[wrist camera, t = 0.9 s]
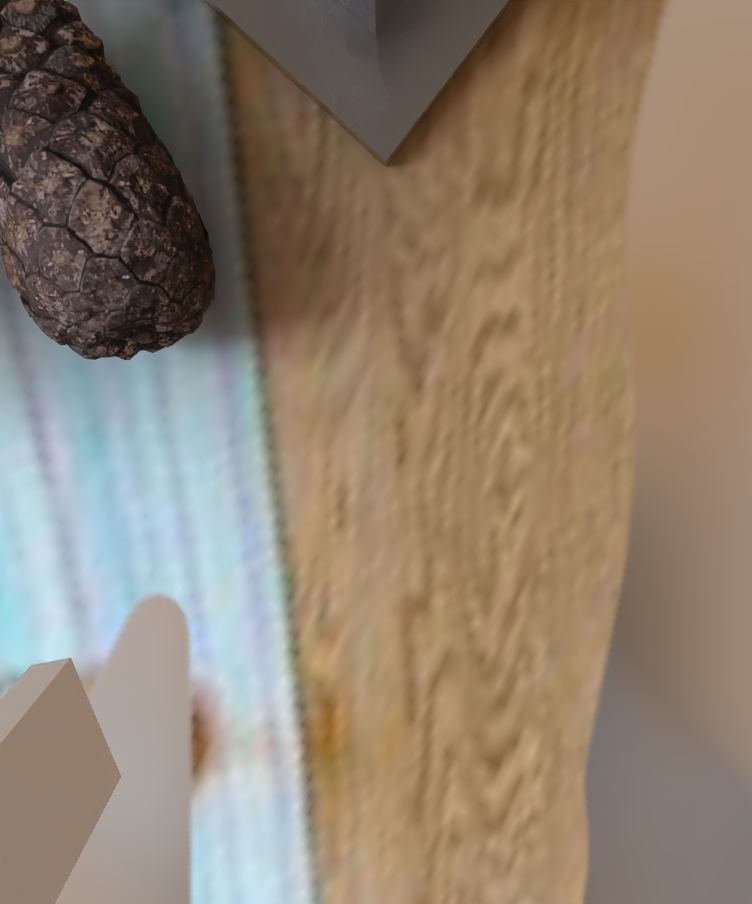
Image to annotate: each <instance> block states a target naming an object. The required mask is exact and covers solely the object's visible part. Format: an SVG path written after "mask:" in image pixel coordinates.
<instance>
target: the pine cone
mask: <svg viewBox="0 0 752 904" xmlns="http://www.w3.org/2000/svg"><path fill="white" fill-rule="evenodd" d="M0 249H1V253H2V257H3V260H4V264H5V268H6V272H7V277H8V279H9V280H10V282H11V285H12V287H14V288H16V289H17V290H18V292H19V293H20V294H21V296H20V298H21V300H22V303H23V305H24V307H25V309H26V310H27V312H28V314H29V316H30V317H33V320H34V321H35V323H36V324H37V325H38V326H39V327H40V329H41V330H42V331H43V332H44V333H45V334H46V335H47V336H49V337H50V338H51V339H53V340H54V341H56V342H57V343H58V344H60V345H65V344H68V346H69V347H70V348H71V349H72V350H74V351H75V352H76V353H78V354H79V355H81V356H82V357H84V358H86V359H93V360H95V359H98V358H101V357H113V356H116V357H119V358H121V359H124V360H130V359H131V358H132V357H133V356H134V355H136V354H137V353H138V352H139V351H141V350H146V351H149V352H152V353H154V352H156V351H158V350H160V349H162V348H164V347H169V346H172V345H173V344H174V343H176V342H177V341H179V340H180V339H181V338H183V337H184V336H186V335H187V334H190V333H193V332H194V331H195V330H196V329H197V328H198V327H199V325H200V324H201V322H202V316H203V314H204V312H205V311H206V309H207V308H208V306H209V305H210V303H211V302H212V300H213V299H214V289H215V270H214V265H213V260H212V250H211V248H210V244H209V238H208V233H207V231H206V229H205V227H204V225H203V222H202V220H201V217H200V215H199V214H198V212H197V209H196V206H195V204H194V201H193V198H192V197H191V195H190V194H189V193H188V190H187V188H186V186H185V184H184V182H183V180H182V177H181V174H180V171H179V170H178V169H177V167H176V165H175V163H174V161H173V158H172V156H171V154H170V153H169V151H168V150H167V148H166V147H165V145H164V144H163V142H162V141H161V140H160V139H159V138H158V137H157V135H156V134H155V132H154V130H153V129H152V127H151V126H150V124H149V123H148V121H147V119H146V117H144V115H143V113H142V110H141V107H140V104H139V100H138V97H137V96H136V95H135V94H133V93H132V92H131V91H129V90H128V89H127V88H126V87H125V86H124V84H123V83H122V81H121V79H120V76H119V75H118V74H117V73H116V71H115V70H114V68H113V67H112V65H111V64H110V63H109V62H108V61H107V60H106V59H105V57H104V45H103V43H102V40H101V39H99V38H98V37H96V36H95V35H94V34H93V32H92V31H91V30H90V29H89V28H88V27H87V26H86V25H85V24H84V23H83V22H81V18H80V15H79V12H78V9H77V7H76V6H74V5H72V4H70V3H68V2H66V1H64V0H0Z"/></svg>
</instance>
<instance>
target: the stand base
mask: <svg viewBox="0 0 752 904" xmlns="http://www.w3.org/2000/svg"><path fill="white" fill-rule="evenodd" d="M204 1H205V2H207V3H208V4H209V5H210V6H211V7H212V8H213V9H214V10H215V11H216V12H217V13H219V14H220V15H221V16H222V17H223V18H224V19H225V20H226V21H227V22H228V23H229V24H231V25H232V26H233V27H234V28H235V29H236V30H237V31H238V32H239V33H240V34H242V35H243V36H244V37H245V38H246V39H247V40H248V41H249V42H250V43H251V44H252V45H254V46H255V47H256V48H257V49H258V50H259V51H260V52H261V53H262V54H263V55H264V56H266V57H267V58H268V59H269V60H270V61H271V62H272V63H273V64H274V65H275V66H276V67H278V68H279V69H280V70H281V71H282V72H283V73H284V74H285V75H286V76H287V77H288V78H290V79H291V80H292V81H293V82H294V83H295V84H296V85H297V86H298V87H299V88H301V89H302V90H303V91H304V92H305V93H306V94H307V95H308V96H309V97H310V98H311V99H313V100H314V101H315V102H316V103H317V104H318V105H319V106H320V107H321V108H322V109H323V110H325V111H326V112H327V113H328V114H329V115H330V116H331V117H332V118H333V119H334V120H335V121H337V122H338V123H339V124H340V125H341V126H342V127H343V128H344V129H345V130H346V131H348V132H349V133H350V134H351V135H352V136H353V137H354V138H355V139H356V140H357V141H358V142H360V143H361V144H362V145H363V146H364V147H365V148H366V149H367V150H368V151H369V152H370V153H372V154H373V155H374V156H375V157H376V158H377V159H378V160H379V161H380V162H381V163H382V164H384V165H385V166H387V165H388V163H389V162H390V161H391V159H392V158H393V157H394V155H395V154H396V153H397V151H398V150H399V149H400V148H401V146H402V145H403V144H404V142H405V141H406V140H407V138H408V137H409V136H410V134H411V133H412V132H413V130H414V129H415V128H416V127H417V125H418V124H419V123H420V121H421V120H422V119H423V117H424V116H425V115H426V113H427V112H428V111H429V110H430V108H431V107H432V106H433V104H434V103H435V102H436V100H437V99H438V98H439V96H440V95H441V94H442V92H443V91H444V90H445V89H446V87H447V86H448V85H449V83H450V82H451V81H452V79H453V78H454V77H455V75H456V74H457V73H458V71H459V70H460V69H461V68H462V66H463V65H464V64H465V62H466V61H467V60H468V58H469V57H470V56H471V54H472V53H473V52H474V50H475V49H476V48H477V47H478V45H479V44H480V43H481V41H482V40H483V39H484V37H485V36H486V35H487V33H488V32H489V31H490V30H491V28H492V27H493V26H494V24H495V23H496V22H497V20H498V19H499V18H500V16H501V15H502V14H503V12H504V11H505V10H506V9H507V7H508V6H509V5H510V3H511V2H512V1H513V0H204Z"/></svg>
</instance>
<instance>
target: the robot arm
mask: <svg viewBox="0 0 752 904" xmlns="http://www.w3.org/2000/svg"><path fill="white" fill-rule="evenodd" d="M120 777H121V775H120V773H119V770H118V768H117V766H116V763H115V761H114V759H113V756H112V754H111V752H110V749H109V747H108V745H107V742H106V740H105V737H104V735H103V733H102V730H101V728H100V726H99V723H98V721H97V718H96V716H95V714H94V711H93V709H92V707H91V704H90V702H89V700H88V697H87V695H86V692H85V690H84V688H83V685H82V683H81V681H80V678H79V676H78V674H77V671H76V669H75V666H74V664H73V662H72V659H71V658H67V659H62V660H57V661H51V662H46V663H41V664H36V665H31V666H30V667H29V669H28V670H27V671H26V672H25V673H24V674H23V675H22V676H21V677H20V678H19V680H18V681H17V682H16V683H15V684H14V685H13V686H12V687H11V688H10V689H9V691H8V692H7V693H6V694H5V695H4V696H3V697H2V698H1V699H0V904H55V902H56V900H57V898H58V896H59V894H60V892H61V890H62V888H63V887H64V885H65V883H66V881H67V879H68V877H69V875H70V873H71V871H72V869H73V867H74V866H75V864H76V862H77V860H78V858H79V856H80V854H81V852H82V850H83V848H84V846H85V844H86V843H87V840H88V839H89V837H90V835H91V833H92V831H93V829H94V827H95V825H96V823H97V821H98V819H99V818H100V816H101V814H102V812H103V810H104V808H105V806H106V804H107V802H108V801H109V798H110V797H111V795H112V793H113V791H114V789H115V787H116V785H117V783H118V781H119V779H120Z"/></svg>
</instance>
